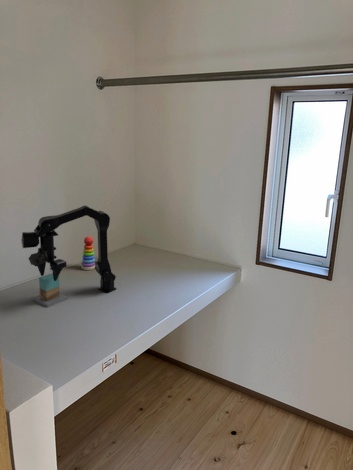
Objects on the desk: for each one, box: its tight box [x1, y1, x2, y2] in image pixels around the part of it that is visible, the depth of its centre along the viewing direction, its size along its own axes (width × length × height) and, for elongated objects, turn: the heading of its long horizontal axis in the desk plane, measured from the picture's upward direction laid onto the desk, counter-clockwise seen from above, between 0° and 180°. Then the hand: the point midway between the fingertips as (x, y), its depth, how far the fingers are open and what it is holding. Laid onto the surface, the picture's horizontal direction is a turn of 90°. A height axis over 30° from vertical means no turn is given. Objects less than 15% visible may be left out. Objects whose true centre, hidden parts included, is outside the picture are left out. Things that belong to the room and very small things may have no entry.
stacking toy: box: [80, 235, 96, 271], centre depth 212 cm, size 8×8×19 cm
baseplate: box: [31, 293, 68, 308], centre depth 174 cm, size 11×11×1 cm
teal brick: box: [38, 273, 60, 291], centre depth 172 cm, size 5×7×5 cm
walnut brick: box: [39, 286, 61, 301], centre depth 173 cm, size 5×7×5 cm
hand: (48, 278), depth 171 cm, fingers open, 9 cm apart
